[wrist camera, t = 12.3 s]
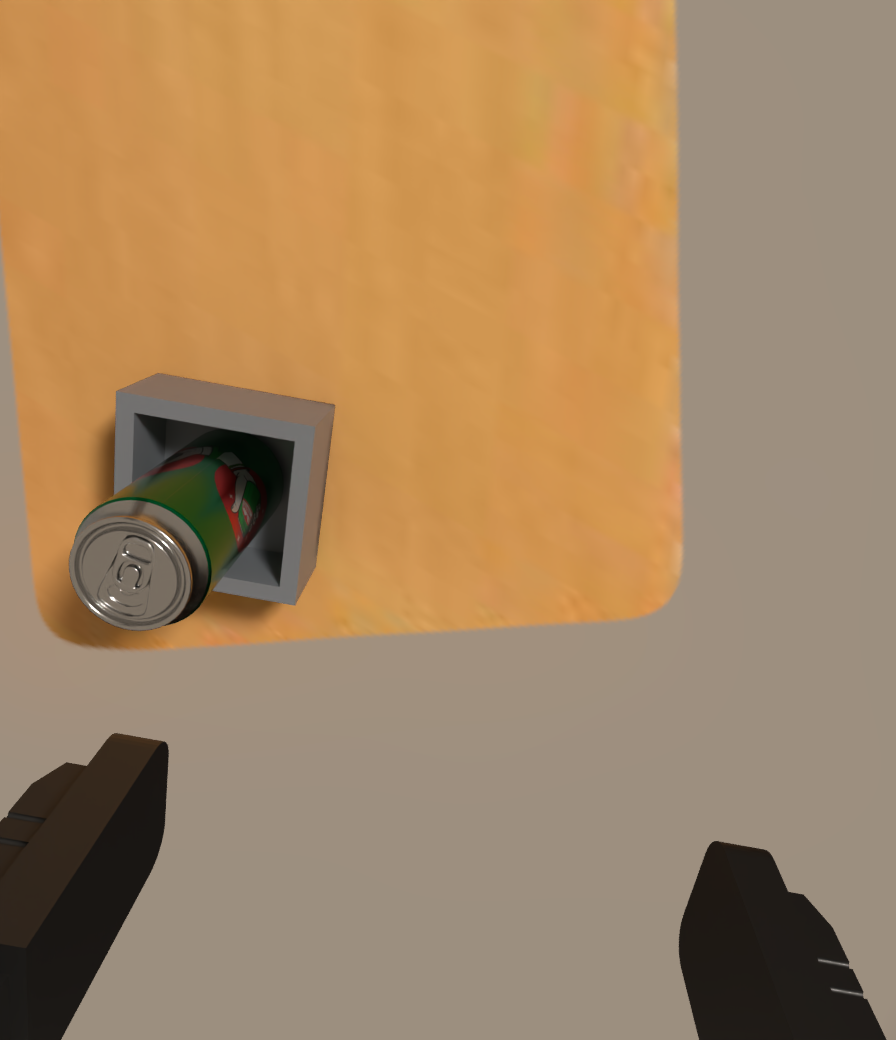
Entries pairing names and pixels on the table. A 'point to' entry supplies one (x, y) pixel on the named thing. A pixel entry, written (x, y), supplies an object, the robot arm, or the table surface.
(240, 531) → the soda can
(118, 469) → the grey hollow square box
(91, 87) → the table surface
